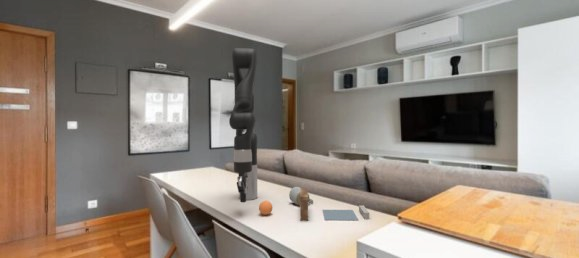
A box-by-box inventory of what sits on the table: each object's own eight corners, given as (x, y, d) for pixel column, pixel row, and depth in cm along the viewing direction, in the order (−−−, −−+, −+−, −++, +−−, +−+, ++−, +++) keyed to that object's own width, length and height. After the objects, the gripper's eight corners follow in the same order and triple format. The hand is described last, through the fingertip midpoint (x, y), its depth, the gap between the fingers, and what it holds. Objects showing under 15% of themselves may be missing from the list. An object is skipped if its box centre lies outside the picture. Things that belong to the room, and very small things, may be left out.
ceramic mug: (296, 207, 125) (296, 190, 125) (288, 203, 132) (288, 187, 132) (316, 205, 129) (316, 188, 129) (308, 200, 137) (308, 185, 137)
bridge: (300, 220, 107) (300, 196, 107) (300, 209, 122) (300, 188, 122) (308, 220, 107) (308, 196, 107) (307, 209, 122) (307, 188, 121)
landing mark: (324, 220, 107) (324, 219, 107) (322, 210, 120) (322, 209, 120) (358, 220, 107) (358, 219, 107) (352, 210, 120) (352, 209, 120)
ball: (256, 214, 116) (256, 200, 116) (268, 211, 119) (268, 198, 119) (262, 217, 111) (262, 203, 111) (274, 215, 114) (274, 201, 114)
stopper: (364, 219, 108) (364, 212, 108) (359, 211, 118) (359, 205, 118) (369, 219, 108) (369, 212, 108) (363, 211, 118) (363, 205, 118)
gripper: (248, 162, 108) (249, 206, 108) (254, 158, 122) (254, 198, 121) (229, 162, 109) (230, 206, 109) (237, 158, 122) (238, 198, 122)
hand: (243, 201), depth 115 cm, fingers closed
